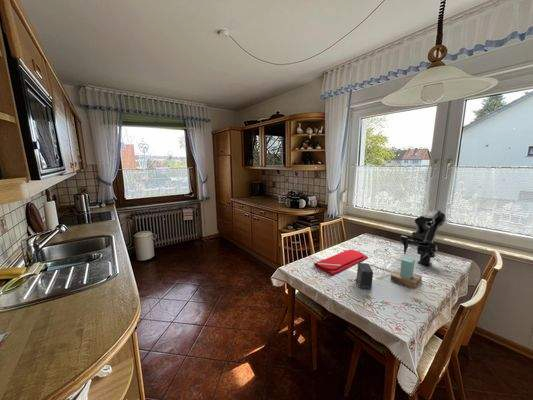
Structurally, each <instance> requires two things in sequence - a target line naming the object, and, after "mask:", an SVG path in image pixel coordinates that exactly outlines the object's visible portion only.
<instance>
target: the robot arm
mask: <svg viewBox="0 0 533 400" xmlns="http://www.w3.org/2000/svg"><path fill="white" fill-rule="evenodd" d="M446 219H447V217H446V214H444V213H443V212H442V210H439V209H435V208H434V209H433V208H432V209H431V210H430V212H428V213H427V214H424V215H423V214H422V215H420V217H417V218H415V219H414V223H415V226H416V229H417V230H416V231H412V233H411V235H410V237H412V239H410V238H409V237H408V236H405V235H401V236H400V237H399V241H400V243H401V244H402V245H403V253H404V254H406V252H407V251H408V247H409V244H413V245H417V249H416V250H417V252H416V253H417V255H419V260H418V261H417V263H418V264H419V265H423V266H426V267H430V266H431V265H432V262H431V259H433V258H435V257H436V256H435V255H436V253H437V251H438V246H437V244H436V243H434V240H435V238H436V236H437V235H436V234H437V232H438V230H439V227H441V226H443V224H444V223H445V222H446Z"/></svg>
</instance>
